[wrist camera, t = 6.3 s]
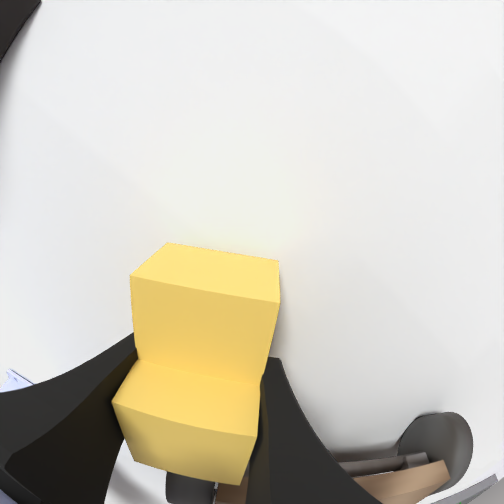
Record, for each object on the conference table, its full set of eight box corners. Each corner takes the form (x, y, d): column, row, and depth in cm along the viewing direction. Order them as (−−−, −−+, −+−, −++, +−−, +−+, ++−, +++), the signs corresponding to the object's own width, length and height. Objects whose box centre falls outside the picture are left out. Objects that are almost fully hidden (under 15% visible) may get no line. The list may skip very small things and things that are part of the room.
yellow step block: (168, 379, 12) (134, 460, 7) (167, 242, 10) (90, 312, 5) (249, 395, 12) (239, 485, 7) (278, 260, 10) (282, 354, 5)
